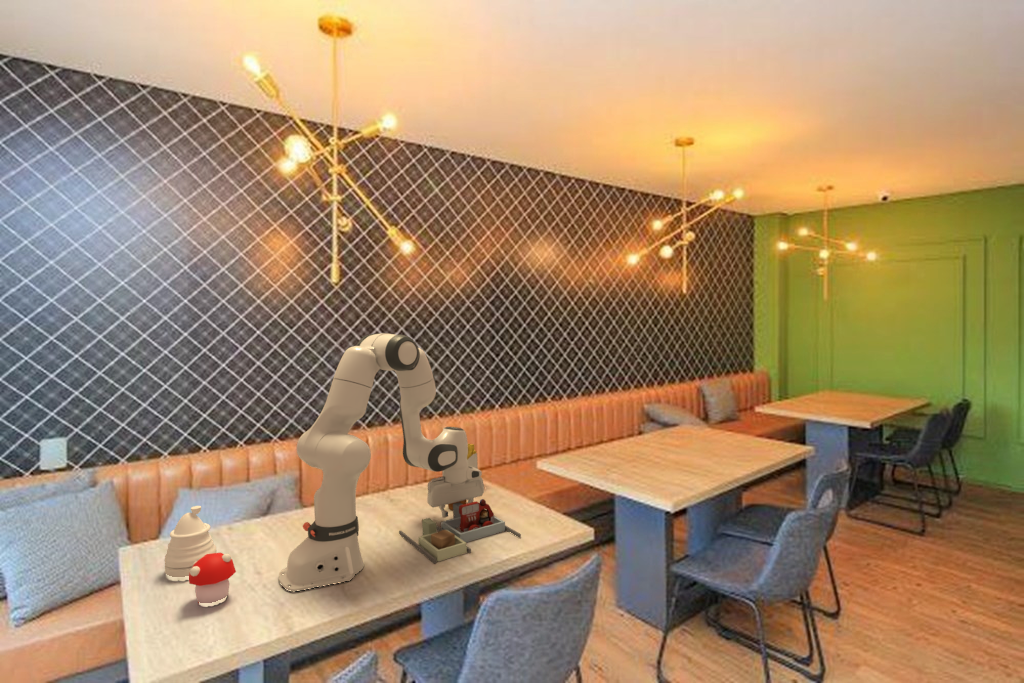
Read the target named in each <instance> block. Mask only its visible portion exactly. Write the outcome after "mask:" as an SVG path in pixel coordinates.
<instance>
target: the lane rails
mask: <svg viewBox="0 0 1024 683" xmlns="http://www.w3.org/2000/svg"><path fill="white" fill-rule="evenodd" d="M436 528H437V532H439V531H442V530H443V529H442V528H441V527H440V526H439V525H437V524H436ZM506 530H507V531H506ZM505 531H506V532H508V531H509V532H511V533H513V534H514V535H513V534H512V535H513V536H515V535H516V536H518V537H522V534H521V533H519V531H516V530H514V529H513V528H511V527H509V526H508V525H506V524H505ZM509 532H508V533H509ZM511 533H510V534H511ZM399 534H400V535H401V538H403V537H404V538H405V539H406V542H408V543H409V544H410V545H411V544H412V545H411V546H413V547H414V548H415V549H417V551H418V552H420V553H421V554H422V555H423V554H424V555H423V556H424V557H425V558H427V559H428V560H429V561H431V562H432V563H433V564H435V565H436V564H437V561H436V558H434V557H433V556H432V555H431V554H429V553H428V552H427V551H426V550H424V549H423V548H422V547H421V546H420V545H419V543H417V542H416V541H415V540H413V539H412V538H411V537H410V536H409V535H408V534H406V533H405V532H403V530H399V531H398V535H399ZM400 535H399V536H400ZM516 536H515V537H516ZM518 537H517V538H518ZM404 538H403V539H404ZM405 539H404V540H405ZM467 553H468V554H471V553H472V549H471V548H470V547H469V546H467Z"/></svg>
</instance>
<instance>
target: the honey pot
mask: <svg viewBox="0 0 1024 683" xmlns="http://www.w3.org/2000/svg"><path fill="white" fill-rule="evenodd" d="M201 510H202V506H201V505H194V506H191V507H190V512H186V513H184V514H183V515H182V516H181V517H180V519H179V520H178V521H177V523H176V525H175V527H174V529H173V530H171V531H170V532H169V537H170V541H169V543H168V545H167V549H166V553H165V556H164V574H165V573H166V574H167V575H169V576H172V577H185V576H189V573H190V570H191V568H192V567H193V563H194V562H196V561H198V560H200V559H201V558H202V557H203V556H205V555H206V554H213V553H218V552H217V546H216V544H215V543H214V540H213V538H212V537H213V536H212V535H211V534H210V532H209V531H210V530H211V525H210V524H209V523H206V522H203V520H202V519H201V518H200V517H199V515H198V514H200V512H201Z"/></svg>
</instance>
